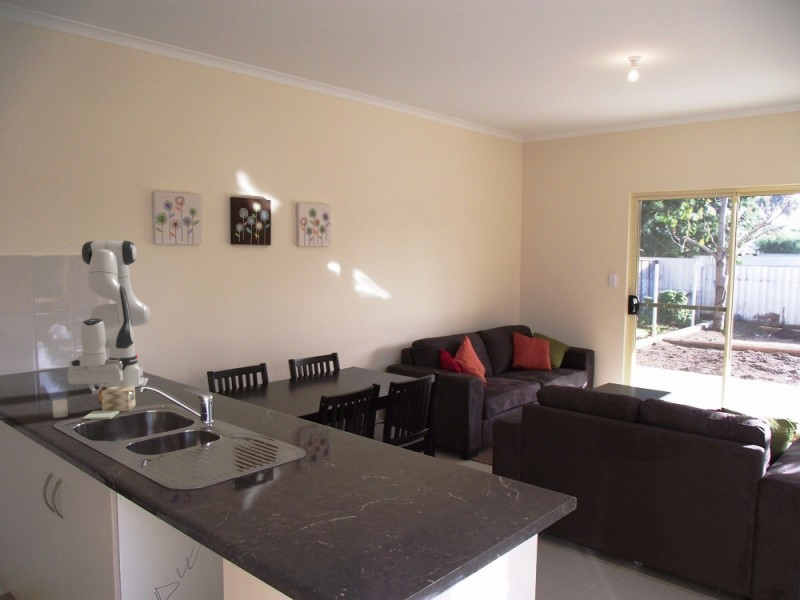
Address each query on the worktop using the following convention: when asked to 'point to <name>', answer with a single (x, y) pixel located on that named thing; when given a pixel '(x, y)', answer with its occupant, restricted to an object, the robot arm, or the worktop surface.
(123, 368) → the robot arm
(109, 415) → the pad
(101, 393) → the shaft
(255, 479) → the worktop surface
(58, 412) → the spacer
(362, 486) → the worktop surface
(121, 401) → the bearing block
